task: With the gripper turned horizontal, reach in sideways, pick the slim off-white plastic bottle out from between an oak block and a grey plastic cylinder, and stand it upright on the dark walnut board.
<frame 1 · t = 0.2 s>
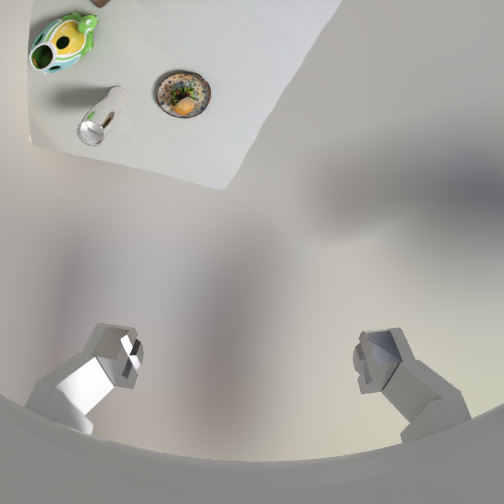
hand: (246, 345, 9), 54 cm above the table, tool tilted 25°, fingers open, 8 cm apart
turtle holder: (77, 32, 34), on the table
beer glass: (119, 96, 51), on the table
burger: (184, 93, 52), on the table
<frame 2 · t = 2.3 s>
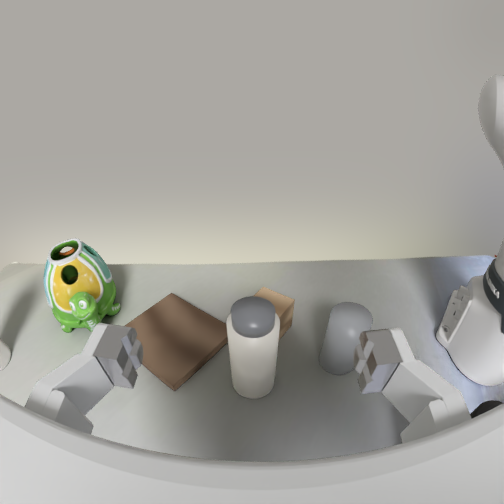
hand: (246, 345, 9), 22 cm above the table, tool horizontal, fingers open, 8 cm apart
walnut board: (172, 338, 37), on the table
turtle holder: (91, 314, 40), on the table
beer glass: (0, 359, 28), on the table
plastic bottle: (253, 381, 31), on the table
oak block: (267, 329, 39), on the table
grey cylinder: (337, 359, 33), on the table
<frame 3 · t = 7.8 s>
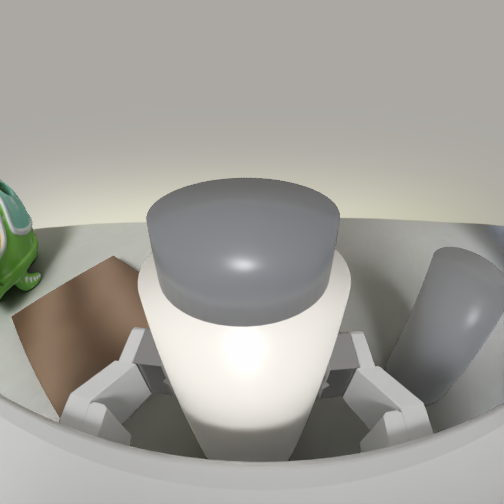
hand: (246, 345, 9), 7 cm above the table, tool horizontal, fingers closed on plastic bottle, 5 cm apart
walnut board: (97, 331, 18), on the table
turtle holder: (5, 289, 21), on the table
plastic bottle: (248, 434, 12), on the table, touching gripper
grey cylinder: (419, 373, 14), on the table
when the fingers open (9 cm above the table, at t = 14.0 s): plastic bottle drops 1 cm, resting on walnut board.
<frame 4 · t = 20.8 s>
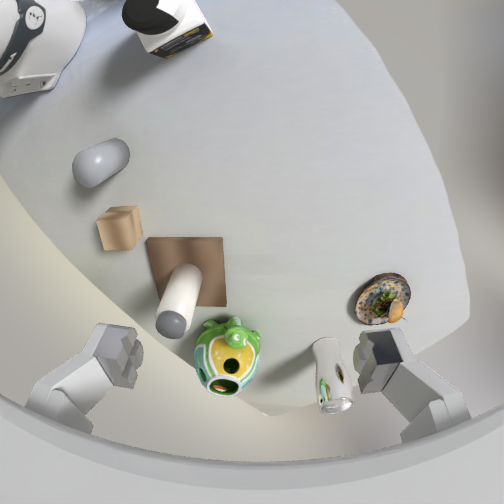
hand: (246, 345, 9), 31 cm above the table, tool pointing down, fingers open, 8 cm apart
walnut board: (189, 271, 46), on the table
turtle holder: (229, 333, 54), on the table
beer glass: (325, 345, 56), on the table
plastic bottle: (187, 275, 45), point 1 cm above the table, touching walnut board
oak block: (126, 220, 41), on the table
medicine bottle: (179, 28, 27), on the table
burger: (380, 296, 49), on the table
grey cylinder: (115, 154, 36), on the table
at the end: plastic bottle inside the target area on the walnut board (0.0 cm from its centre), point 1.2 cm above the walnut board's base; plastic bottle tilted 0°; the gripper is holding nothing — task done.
